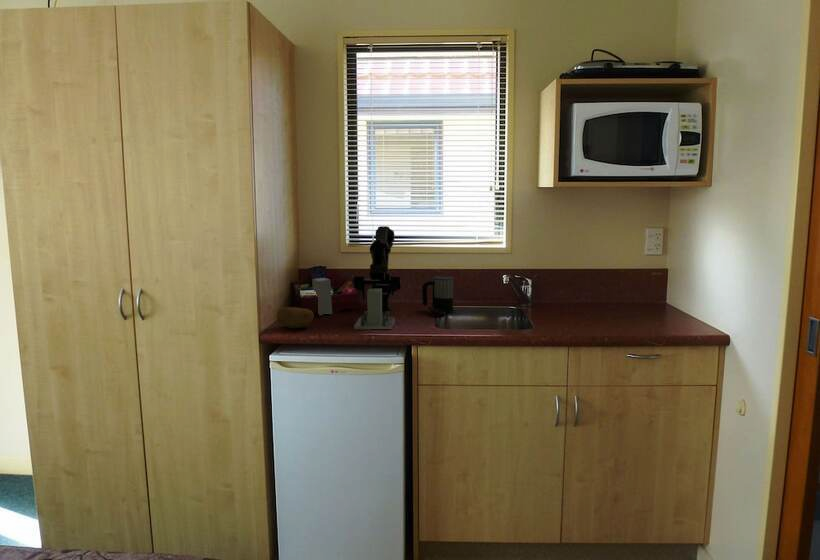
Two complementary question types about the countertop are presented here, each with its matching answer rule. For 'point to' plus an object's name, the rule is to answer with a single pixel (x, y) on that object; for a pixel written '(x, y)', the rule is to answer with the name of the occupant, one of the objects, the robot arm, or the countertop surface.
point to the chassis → (363, 323)
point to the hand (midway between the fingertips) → (375, 300)
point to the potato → (294, 317)
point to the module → (374, 305)
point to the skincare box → (323, 295)
